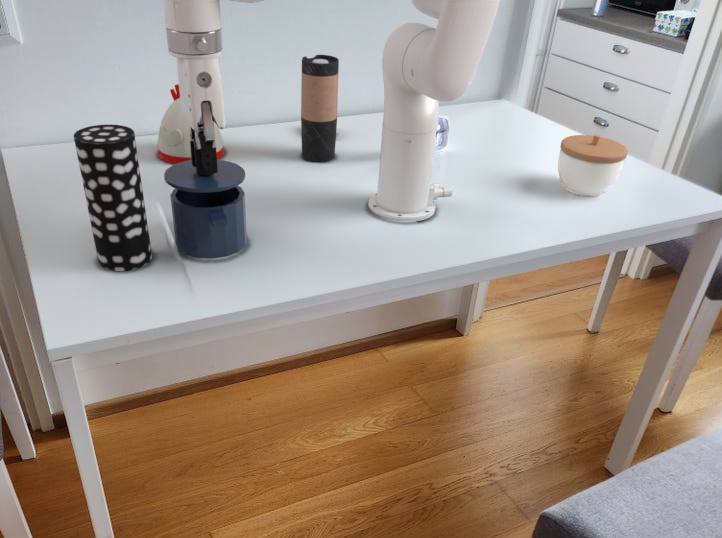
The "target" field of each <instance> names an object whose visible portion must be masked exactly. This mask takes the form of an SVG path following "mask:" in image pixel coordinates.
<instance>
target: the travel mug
mask: <svg viewBox="0 0 722 538" xmlns="http://www.w3.org/2000/svg"><path fill="white" fill-rule="evenodd" d="M339 64H340V60H339V58H338V57H336V56H333V55H329V54H316V55H315V56H313V57H307V55H304V56H303V57H302V58H301V83H300V84H301V90H300V92H301V94H300V97H301V98H300V130H301V133H300V134H301V156H302V159H303V160H306V161H308V162H313V163H327V162H331V161H333V160H334V159H335V155H336V142H337V141H336V140H337V125H338V103H339V101H338V100H339V71H340V70H339V69H340V67H339V66H340V65H339Z"/></svg>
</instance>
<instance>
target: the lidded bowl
mask: <svg viewBox="0 0 722 538" xmlns="http://www.w3.org/2000/svg"><path fill="white" fill-rule="evenodd" d="M628 152H629V149H628V148H627V146H625V144H623V143H621V142H619V141H617V140H615V139H611V138H608V137H604V136H601V135H600V134H593V135H592V134H591V135H590V134H575V135H570V136H566V137H564V138H563V139H562V140H561V141H560V149H559V154H558V160H557V173H558V176H559V179H560V182H561V183H562V184H563V186H564V189H565V190H566V191H567V192H569V193H570V194H572V195H576V196H580V197H597V196H599V195H601V193H603V192H604V191H606V190H607V189H609V188H610V187H611V186H612V185H613V184H614V183H615V182H616V181H617V179H618V177H619V175H620V173H621V171H622V169H623V166H624V164H625V161H626V158H627V156H628Z"/></svg>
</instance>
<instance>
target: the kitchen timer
mask: <svg viewBox="0 0 722 538" xmlns="http://www.w3.org/2000/svg"><path fill="white" fill-rule="evenodd" d="M169 92H170V94H171V97H172V99H173V102H171V104H170V105H168V107H167V109H166V110H165V113H164V114H163V117H162V119H161V121H160V125H159V131H158V135H157V136H158V137H157V152H158V156H159V158H160V159H161V160H162V161H164V162H167V163H169V164H173V165H175V164H177V163H180V162H184V161H189V160H192V158H191V147H190V141H193V140H191V138H190V129H189V123H188V122H187V120H186V118H185V116H184V114H183V112H182V107H181V100H180V91H179V83H177V84H174V88H171V89H169ZM214 131H215V143H216V153H217V159H218V160H221V158H222V157H224V154H225V148H224V147H225V146H224V141H223V136H222V134H221V131H220V128H219V127H218V126H217V125H216V123H215V122H214Z"/></svg>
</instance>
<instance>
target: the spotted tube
mask: <svg viewBox="0 0 722 538" xmlns="http://www.w3.org/2000/svg"><path fill="white" fill-rule="evenodd" d="M73 140H74V145H75V150H76V156H77V161H78V166H79V171H80V175H81V180H82V185H83V190H84V196H85V200H86V201H85V202H86V205H87V211H88V216H89V221H90V226H91V231H92V236H93V241H94V247H95V252H96V256H97V261H98V264H99V265H100V267H102V268H103V269H106V270H109V271H113V272H115V271H116V272H127V271H134V270H138V269H140V268H142V267H144V266H146V265H148V264H149V263H150V262H151V261H152V258H153V253H152V252H153V251H152V246H151V238H150V232H149V231H150V230H149V225H148V219H147V212H146V205H145V198H144V196H145V195H144V189H143V183H142V176H141V170H140V162H139V156H138V149H137V141H136V134H135V131H134V129H133V128H132V127H129V126H126V125H122V124H120V125H119V124H96V125H90V126H87V127H82V128H80V129H79V130H77V131H75V132H74V133H73Z"/></svg>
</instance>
